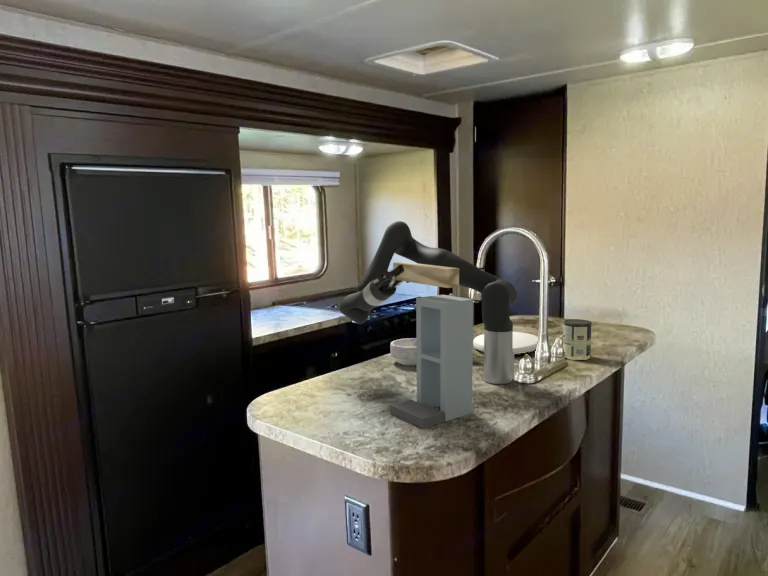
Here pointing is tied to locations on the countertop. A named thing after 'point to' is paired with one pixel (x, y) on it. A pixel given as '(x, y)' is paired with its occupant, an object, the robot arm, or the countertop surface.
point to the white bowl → (404, 351)
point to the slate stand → (445, 354)
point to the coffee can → (577, 337)
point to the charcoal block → (417, 413)
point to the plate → (520, 342)
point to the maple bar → (428, 274)
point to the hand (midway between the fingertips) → (408, 267)
